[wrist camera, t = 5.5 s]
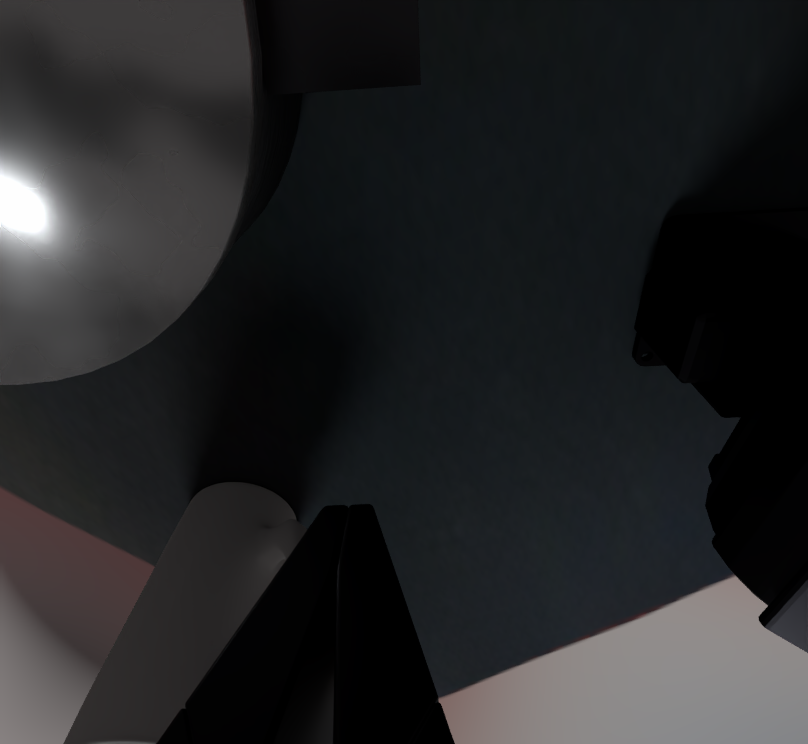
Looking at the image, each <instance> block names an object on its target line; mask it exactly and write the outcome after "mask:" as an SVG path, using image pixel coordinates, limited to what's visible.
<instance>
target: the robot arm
mask: <svg viewBox="0 0 808 744" xmlns="http://www.w3.org/2000/svg"><path fill="white" fill-rule="evenodd" d="M678 225H681V229H680V231H679V232H678V233H677V234H675V235H672V231H673V229H674V228H675V227H676V226H678ZM634 329H635V330H636V331H637V334H636V338H635V343H634V347H633V351H632V357H633V358H634V360H635V361H636V363H637V364H639V365H640V366H661V365H666V366H667V367H668V368H669V369H670V371H671V372H672V373H673V374H674V375H675V376H676V377H677V378H678V379H679V380H680V381H681V382H682V383H691V384H692V385H693V386H694V387H695V388H696V389H697V390H698V392H699V393H700V394H701V395H702V396H703V397H704V398H705V399H706V400H707V402H708V403H709V404H710V405H711V406H712V407H713V408H714V409H715V410H716V412H717V413H718V414H719V415H720V416H721V417H725V418H730V417H741V418H740V420H739V422H738V424H737V425H736V427H735V429H734V430H733V432H732V434H731V435H730V437H729V439H728V440H727V442H726V444H725V445H724V447H723V449H722V450H721V452H720V454H716V455H715V456H714V457H713V459H712V461H711V462H710V464H709V466H708V468H709V472H710V476H711V480H712V482H711V484H710V485H709V488H708V493H707V498H706V504H705V506H706V509H707V512H708V516H709V519H710V522H711V525H712V528H713V531H714V532H715V534H716V535H715V536H714V538H713V540H712V544H713V547H714V548H715V549H716V551H717V552H718V554H719V555H720V556H721V558H722V559H723V561H724V562H725V563H726V565H727V566H728V567H729V569H730V570H731V571H732V572H733V573H734V574H735V575H736V576H737V577H738V578H739V580H740V581H741V582H742V583H743V584H745V586H746V587H747V588H748V589H749V590H750V591H751V592H752V593H753V594H754V595H756V596H757V597H758V598H759V599H760V600H762V601H763V602H764V603H766V604H767V605H768V607H767V608H766V609H765V610H764V611H763V612H762V614H761V615H760V616H759V621H760V622H761V624H762V625H763V626H764V627H765V628H766V629H768V630H770V631H771V632H773V633H775V634H776V635H778V636H780V637H782V638H783V639H785V640H787V641H788V642H790V643H792V644H794V645H795V646H797V647H799V648H800V649H802V650H804V651H806V652H807V653H808V207H806V208H789V209H772V210H755V211H738V212H722V213H705V214H688V215H676V216H672V217H670V218H669V219H667V220H666V221H665V222H664V224H663V225H662V228H661V231H660V235H659V240H658V244H657V248H656V252H655V257H654V261H653V265H652V270H651V271H650V272H649V273H648V274H647V275H646V278H645V282H644V287H643V291H642V295H641V300H640V304H639V308H638V313H637V317H636V322H635V326H634ZM645 352H649V353H648V355H646V356H644V357H642V355H643V354H644V353H645ZM185 708H186V709H184V708H182V709H181V710H180V711H179V712H178V713H177V715H176V716H175V718H174V719H173V721H172V722H171V723H170V725H169V726H168V728H167V729H166V731H165V732H164V734H163V735H162V736H161V738H160V739H159V741H158V742H157V743H156V744H455V743H454V740H453V738H452V735H451V732H450V729H449V726H448V723H447V720H446V717H445V714H444V711H443V708H442V706H441V704H440V703H439V702H438V695H437V692H436V689H435V686H434V683H433V680H432V677H431V674H430V671H429V668H428V665H427V663H426V660H425V657H424V654H423V651H422V648H421V645H420V642H419V639H418V636H417V633H416V630H415V627H414V624H413V622H412V619H411V616H410V613H409V610H408V607H407V604H406V601H405V598H404V595H403V592H402V589H401V586H400V583H399V581H398V578H397V575H396V572H395V569H394V566H393V563H392V560H391V557H390V554H389V551H388V548H387V545H386V543H385V540H384V537H383V534H382V531H381V528H380V525H379V522H378V519H377V516H376V513H375V510H374V508H373V506H372V505H370V504H359V505H351V506H350V507H349V508H348V507H347V506H345V505H333V506H325V507H324V508H323V509H322V510H321V511H320V513H319V514H318V515H317V517H316V518H315V520H314V521H313V523H312V524H311V525H310V527H309V528H308V530H307V531H306V533H305V534H304V535H303V537H302V538H301V540H300V541H299V542H298V544H297V545H296V547H295V548H294V550H293V551H292V552H291V554H290V555H289V557H288V558H287V559H286V561H285V562H284V564H283V565H282V567H281V568H280V569H279V571H278V572H277V574H276V575H275V576H274V578H273V579H272V581H271V582H270V584H269V585H268V586H267V588H266V589H265V591H264V592H263V593H262V595H261V596H260V598H259V599H258V601H257V602H256V603H255V605H254V606H253V608H252V609H251V610H250V612H249V613H248V615H247V616H246V618H245V619H244V620H243V622H242V623H241V625H240V626H239V627H238V629H237V630H236V632H235V633H234V635H233V636H232V637H231V639H230V640H229V642H228V643H227V644H226V646H225V647H224V649H223V650H222V652H221V653H220V654H219V656H218V657H217V659H216V660H215V662H214V663H213V664H212V666H211V667H210V669H209V670H208V671H207V673H206V674H205V676H204V677H203V679H202V680H201V681H200V683H199V684H198V686H197V687H196V688H195V690H194V691H193V693H192V694H191V696H190V697H189V698H188V700H187V701H186V703H185Z"/></svg>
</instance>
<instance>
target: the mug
mask: <svg viewBox="0 0 808 744" xmlns="http://www.w3.org/2000/svg"><path fill="white" fill-rule="evenodd" d="M306 531H307V529H306V528H305V527H304V526H303V525H301V524H300V523H299V522H298V521H297V520H296V516H295V514H294V512H293V510H292V508H291V507H290V506H289V504H288V503H287V502H286V501H285V500H284V499H282V498H281V497H280V496H278V495H277V494H275V493H274V492H272V491H270V490H268V489H266V488H263V487H261V486H257V485H254V484H250V483H243V482H224V483H218V484H214V485H211V486H209V487H206V488H204V489H203V490H201V491H200V492H198V493H197V494H196V495H195V496H194V497H193V499H192V500H191V502H190V503H189V505H188V507H187V509H186V511H185V512H184V514H183V516H182V518H181V520H180V522H179V523H178V525H177V527H176V529H175V531H174V532H173V534H172V536H171V538H170V539H169V541H168V543H167V545H166V547H165V549H164V551H163V553H162V555H161V557H160V559H159V560H158V562H157V564H156V566H155V568H154V570H153V572H152V574H151V576H150V578H149V580H148V581H147V584H146V585H145V587H144V589H143V591H142V593H141V595H140V597H139V599H138V600H137V602H136V604H135V606H134V608H133V610H132V612H131V614H130V615H129V617H128V619H127V621H126V623H125V625H124V627H123V629H122V631H121V633H120V634H119V636H118V638H117V640H116V642H115V644H114V646H113V648H112V649H111V651H110V653H109V655H108V657H107V659H106V661H105V663H104V664H103V666H102V668H101V670H100V672H99V674H98V676H97V678H96V680H95V681H94V683H93V685H92V687H91V689H90V691H89V693H88V695H87V697H86V699H85V701H84V703H83V705H82V707H81V709H80V711H79V713H78V715H77V717H76V719H75V721H74V723H73V725H72V727H71V729H70V732H69V734H68V736H67V738H66V740H65V742H64V744H156V743H157V742H158V741H159V739H160V738H161V736H162V735H163V734H164V732H165V731H166V729H167V728H168V726H169V725H170V723H171V722H172V721H173V719H174V718H175V716H176V715H177V713H178V712H179V711H180V710H181V709H182V708H184V709H186V708H185V703H186V701H187V700H188V698H189V697H190V696H191V694H192V693H193V691H194V690H195V688H196V687H197V686H198V684H199V683H200V681H201V680H202V679H203V677H204V676H205V674H206V673H207V671H208V670H209V669H210V667H211V666H212V664H213V663H214V662H215V660H216V659H217V657H218V656H219V654H220V653H221V652H222V650H223V649H224V647H225V646H226V644H227V643H228V642H229V640H230V639H231V637H232V636H233V635H234V633H235V632H236V630H237V629H238V627H239V626H240V625H241V623H242V622H243V620H244V619H245V618H246V616H247V615H248V613H249V612H250V610H251V609H252V608H253V606H254V605H255V603H256V602H257V601H258V599H259V598H260V596H261V595H262V593H263V592H264V591H265V589H266V588H267V586H268V585H269V584H270V582H271V581H272V579H273V578H274V576H275V575H276V574H277V572H278V571H279V569H280V568H281V567H282V565H283V564H284V562H285V561H286V559H287V558H288V557H289V555H290V554H291V552H292V551H293V550H294V548H295V547H296V545H297V544H298V542H299V541H300V540H301V538H302V537H303V535H304V534H305V533H306Z"/></svg>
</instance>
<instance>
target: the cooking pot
mask: <svg viewBox="0 0 808 744" xmlns="http://www.w3.org/2000/svg"><path fill="white" fill-rule="evenodd" d="M255 6H256V13H257V21H258V29H259V37H260V45H261V53H262V86H263V119H262V129H261V138H260V148H259V158H258V166H257V170H256V174H255V179H254V183H253V187H252V191H251V195H250V199H249V204H248V208H247V211H246V213H245V216H244V218H243V221H242V223H241V226H240V228H239V231H238V233H237V236H236V238H235V241H234V243H235V242H236V241H237V240H238V239H239V238H240V237H241V236H242V235H243V234H244V232H245V231H246V230H247V229H248V228H249V227H250V226H251V225H252V224H253V222H254V221H255V220H256V219H257V217H258V216H259V215H260V214H261V213H262V211H263V210H264V209H265V207H266V206H267V204H268V202H269V201H270V199H271V197H272V196H273V194H274V192H275V191H276V189H277V187H278V186H279V183H280V181H281V178H282V176H283V174H284V171H285V169H286V166H287V164H288V162H289V159H290V155H291V152H292V148H293V144H294V140H295V137H296V133H297V128H298V121H299V114H300V106H301V99H302V93H308V92H322V91H336V90H351V89H365V88H380V87H394V86H408V85H421V80H420V51H419V22H418V0H255ZM234 243H233V244H234Z"/></svg>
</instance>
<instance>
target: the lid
mask: <svg viewBox="0 0 808 744" xmlns="http://www.w3.org/2000/svg"><path fill="white" fill-rule="evenodd" d="M262 119H263V86H262V53H261V45H260V37H259V29H258V21H257V13H256V6H255V0H0V385H21V384H30V383H39V382H48V381H56V380H60V379H64V378H69V377H73V376H77V375H81V374H85V373H89V372H92V371H94V370H97V369H99V368H102V367H104V366H107V365H109V364H112V363H114V362H117V361H119V360H121V359H123V358H125V357H126V356H128V355H130V354H131V353H133V352H135V351H136V350H138V349H140V348H141V347H143V346H145V345H146V344H148V343H150V342H151V341H152V340H153V339H155V338H156V337H157V336H158V335H159V334H160V333H162V332H163V331H164V330H165V329H166V328H168V327H169V326H170V325H171V324H172V323H173V322H175V321H176V320H177V319H178V318H179V317H180V316H181V315H182V314H183V313H184V311H185V310H186V309H187V308H188V307H189V306H190V305H191V304H192V303H193V302H194V301H195V299H196V298H197V297H198V296H199V295H200V293H201V292H202V291H203V290H204V289H205V287H206V286H207V285H208V284H209V283H210V281H211V280H212V279H213V278H214V276H215V275H216V273H217V271H218V269H219V268H220V266H221V264H222V263H223V261H224V259H225V258H226V256H227V254H228V253H229V251H230V249H231V248H232V246H233V243H234V241H235V238H236V236H237V233H238V231H239V228H240V226H241V223H242V221H243V218H244V216H245V213H246V211H247V208H248V204H249V199H250V195H251V191H252V187H253V183H254V179H255V174H256V170H257V166H258V158H259V148H260V138H261V129H262Z"/></svg>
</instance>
